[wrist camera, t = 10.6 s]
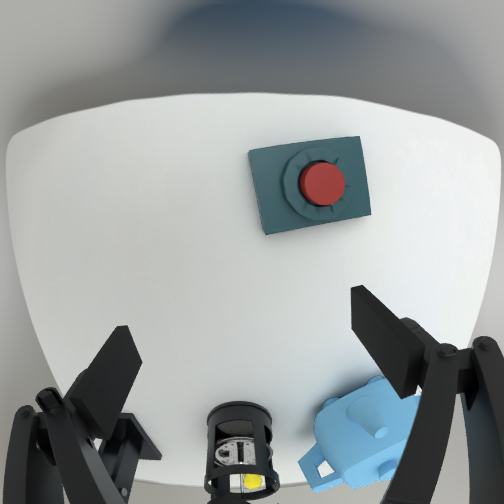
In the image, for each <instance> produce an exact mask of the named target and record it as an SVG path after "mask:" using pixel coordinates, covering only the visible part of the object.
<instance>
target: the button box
mask: <svg viewBox="0 0 504 504" xmlns="http://www.w3.org/2000/svg"><path fill="white" fill-rule="evenodd" d="M248 155H249V160H250V165H251V170H252V175H253V180H254V185H255V191H256V196H257V201H258V206H259V211H260V217H261V222H262V227H263V231H264V233H265V235H268V234H273V233H278V232H283V231H288V230H294V229H299V228H304V227H309V226H314V225H319V224H325V223H330V222H335V221H341V220H346V219H351V218H357V217H362V216H367V215H371V207H370V199H369V191H368V183H367V176H366V170H365V163H364V157H363V151H362V146H361V140H360V136H355V137H343V138H333V139H324V140H315V141H307V142H299V143H292V144H285V145H279V146H272V147H266V148H260V149H255V150H250V151H249V152H248ZM316 163H330V164H333V165H335V166H336V167H337V168H338V169H339V170H340V171H341V172H342V174H343V176H344V180H345V189H344V192H343V195H342V196H341V198H340V199H339V200H338V201H337V202H335V203H333V204H330V205H320V204H317V203H314V202H311V201H310V200H308V199H307V198H306V197H305V196H304V195H303V193H302V191H301V187H300V178H301V175H302V173H303V171H304V170H305V169H306V168H307V167H309V166H310V165H312V164H316Z"/></svg>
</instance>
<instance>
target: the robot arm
mask: <svg viewBox="0 0 504 504" xmlns="http://www.w3.org/2000/svg"><path fill="white" fill-rule="evenodd" d="M351 324H352V330H353V331H354V333H355V334H356V336H357V337H358V338H359V340H360V341H361V343H362V344H363V345H364V347H365V348H366V350H367V351H368V352H369V354H370V355H371V357H372V358H373V360H374V361H375V362H376V364H377V365H378V367H379V368H380V370H381V371H382V373H383V374H384V375H385V377H386V378H387V380H388V381H389V383H390V384H391V386H392V387H393V389H394V390H395V392H396V393H397V395H398V396H399V398H400V399H401V400H402V399H404V398H407V397H409V396H412V395H414V394H416V390H417V386H418V385H419V386H420V388H421V389H422V392H421V396H420V399H419V403H418V407H417V410H416V414H415V417H414V421H413V424H412V427H411V430H410V433H409V436H408V439H407V442H406V444H405V447H404V450H403V452H402V455H401V458H400V460H399V463H398V465H397V467H396V470H395V472H394V475H393V477H392V479H391V481H390V483H389V486H388V488H387V490H386V492H385V494H384V496H383V498H382V500H381V502H380V504H430V502H431V499H432V496H433V493H434V490H435V487H436V484H437V481H438V477H439V474H440V471H441V467H442V464H443V459H444V456H445V452H446V448H447V443H448V439H449V434H450V429H451V423H452V418H453V412H454V405H455V398H456V394H459V393H460V397H461V402H462V408H463V414H464V421H465V428H466V436H467V446H468V458H469V477H470V478H469V479H470V498H469V504H504V357H503V355H502V353H501V350H500V348H499V346H498V344H497V342H496V341H495V340H494V339H492V338H490V337H487V336H480V337H478V338H476V339H474V341H473V343H472V347H471V348H467V349H461V350H458V349H457V348H456V347H455V346H453V345H452V344H447V343H442V344H440V343H439V342H437V341H436V340H435V339H434V338H433V337H432V336H431V335H430V334H429V333H428V332H427V331H425V330H424V329H423V328H422V327H420V325H419V324H418V323H417V322H416V321H414V320H412V319H409V318H407V317H405V318H402V319H399V318H398V317H397V316H395V315H394V314H393V313H392V312H391V311H390V310H389V309H388V308H387V307H386V306H385V305H384V304H383V303H382V302H381V301H380V300H378V299H377V298H376V297H375V296H374V295H373V294H372V293H371V292H370V291H369V290H368V289H366V288H365V287H364V286H363V285H360V286H356V287H352V288H351ZM141 365H142V360H141V358H140V355H139V353H138V351H137V348H136V346H135V343H134V341H133V338H132V336H131V333H130V331H129V328H128V325H125V326H117V327H116V328H115V330H114V331H113V332H112V334H111V335H110V337H109V338H108V339H107V341H106V342H105V344H104V345H103V346H102V348H101V349H100V351H99V352H98V354H97V355H96V357H95V358H94V359H93V361H92V362H91V364H90V365H89V367H88V368H87V369H85V370H84V371H82V372H81V373H80V374H79V375H78V377H77V378H76V380H75V381H74V383H73V384H72V386H71V387H70V389H69V390H68V392H67V393H66V395H65V396H64V398H63V399H62V398H61V396H60V394H59V393H58V391H57V390H56V388H53V387H48V388H45V389H43V390H42V391H40V392H39V393H38V394H37V396H36V399H35V400H36V402H37V403H38V405H39V406H40V408H41V409H42V411H43V412H38V413H36V412H35V410H34V409H33V407H32V406H30V405H25V406H22V407H21V408H19V409H18V411H17V412H16V414H15V417H14V421H13V426H12V430H11V435H10V441H9V446H8V452H7V459H6V467H5V475H4V487H3V504H64V497H63V486H64V489H65V492H66V495H67V497H68V500H69V502H70V504H126V503H125V502H124V500H123V498H122V497H121V495H120V493H119V492H118V490H117V488H116V487H115V485H114V483H113V481H112V479H111V478H110V476H109V474H108V472H107V470H106V468H105V466H104V464H103V462H102V460H101V458H100V456H99V454H98V452H97V450H96V448H95V446H94V443H93V441H92V440H91V438H90V437H89V434H90V432H91V431H92V432H93V434H94V435H95V436H96V438H98V439H106V440H110V438H111V435H112V433H113V430H114V428H115V425H116V423H117V420H118V418H119V416H120V413H121V411H122V408H123V406H124V404H125V401H126V399H127V397H128V394H129V392H130V390H131V387H132V385H133V383H134V380H135V378H136V376H137V374H138V371H139V369H140V367H141ZM36 445H37V446H36ZM62 484H63V485H62Z"/></svg>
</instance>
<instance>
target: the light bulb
mask: <svg viewBox="0 0 504 504" xmlns="http://www.w3.org/2000/svg"><path fill="white" fill-rule="evenodd" d="M243 483H244V484H245V486H246V487H247V488H250V489H256V488H258V487H260V486H261V483H262V478H261V477H260V475H257V474H246V475H245V477H244V479H243Z"/></svg>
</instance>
